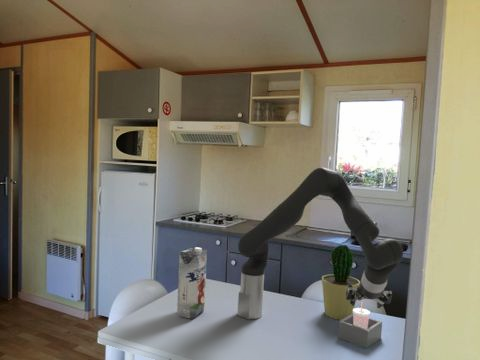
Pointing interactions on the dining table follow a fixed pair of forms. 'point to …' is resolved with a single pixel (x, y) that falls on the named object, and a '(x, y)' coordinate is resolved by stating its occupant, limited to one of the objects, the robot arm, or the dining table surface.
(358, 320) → the beverage cup
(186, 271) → the juice carton
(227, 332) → the dining table surface
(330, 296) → the potted cactus
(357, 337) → the bin
